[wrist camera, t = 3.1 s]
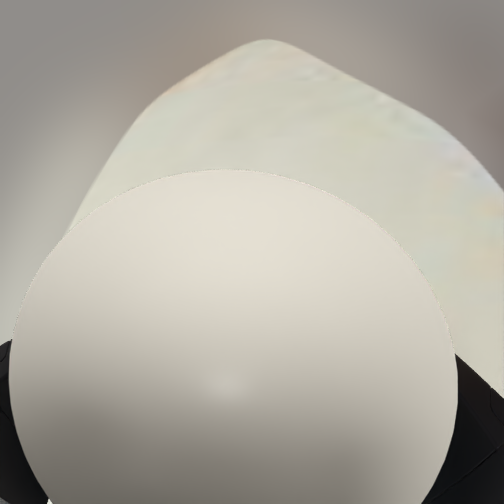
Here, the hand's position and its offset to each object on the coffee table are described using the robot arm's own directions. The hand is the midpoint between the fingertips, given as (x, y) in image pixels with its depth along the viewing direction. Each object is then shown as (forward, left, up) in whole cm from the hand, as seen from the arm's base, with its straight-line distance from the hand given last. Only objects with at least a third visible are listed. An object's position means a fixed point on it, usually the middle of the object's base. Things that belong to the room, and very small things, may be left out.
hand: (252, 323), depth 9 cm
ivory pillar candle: (-1, 0, -7) cm, 7 cm away
